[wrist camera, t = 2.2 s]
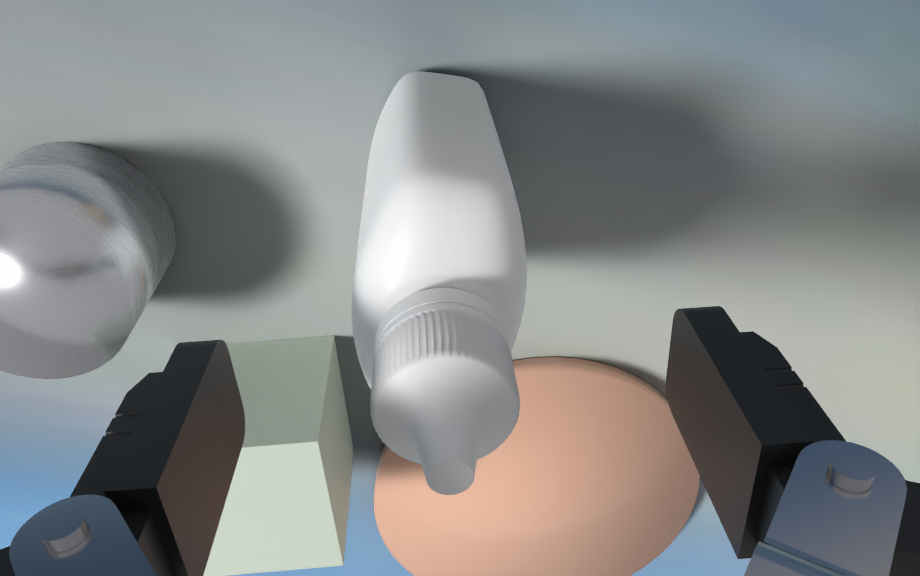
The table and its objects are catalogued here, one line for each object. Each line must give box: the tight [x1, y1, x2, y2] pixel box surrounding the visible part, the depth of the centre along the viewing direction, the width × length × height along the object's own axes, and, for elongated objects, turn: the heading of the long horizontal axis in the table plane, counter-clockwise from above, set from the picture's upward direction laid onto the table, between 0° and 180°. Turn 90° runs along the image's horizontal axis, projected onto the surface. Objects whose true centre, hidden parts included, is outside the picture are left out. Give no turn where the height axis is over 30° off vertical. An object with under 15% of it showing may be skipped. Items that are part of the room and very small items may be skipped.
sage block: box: [203, 335, 354, 576], centre depth 23 cm, size 5×5×5 cm
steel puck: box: [0, 142, 176, 379], centre depth 19 cm, size 5×5×4 cm
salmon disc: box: [374, 357, 700, 576], centre depth 27 cm, size 12×12×1 cm
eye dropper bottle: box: [352, 71, 527, 495], centre depth 16 cm, size 4×6×12 cm
